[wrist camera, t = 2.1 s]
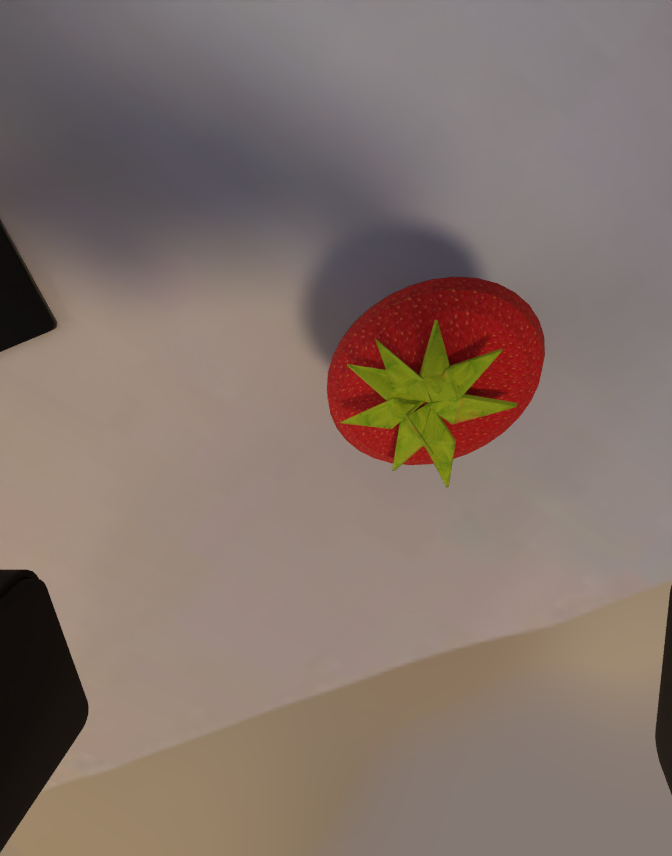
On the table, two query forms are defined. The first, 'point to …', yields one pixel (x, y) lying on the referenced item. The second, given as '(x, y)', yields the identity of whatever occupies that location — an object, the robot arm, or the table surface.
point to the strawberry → (435, 371)
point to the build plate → (19, 299)
